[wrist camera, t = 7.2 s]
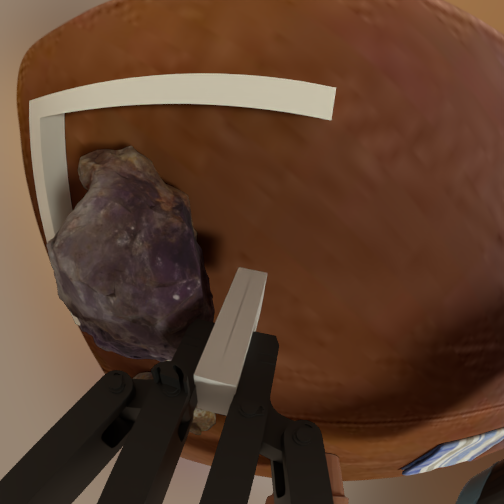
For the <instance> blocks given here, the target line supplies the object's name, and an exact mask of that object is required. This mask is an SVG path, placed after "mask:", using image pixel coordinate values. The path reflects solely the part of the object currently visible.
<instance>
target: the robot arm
mask: <svg viewBox="0 0 504 504" xmlns="http://www.w3.org/2000/svg"><path fill="white" fill-rule="evenodd" d="M266 278H267V273H265V272H260V271H255V270H250V269H245V268H240V267H239V268H238V270H237V273H236V275H235V278H234V280H233V282H232V285H231V287H230V289H229V292H228V294H227V296H226V299H225V301H224V304H223V306H222V308H221V311H220V313H219V315H218V318H217V320H216V323H212V322H209V321H205V320H201V319H196V320H195V321H194V322H193V323H192V324H190V325H189V327H188V328H187V330H186V332H185V334H184V336H183V338H182V340H181V343H180V344H179V346H178V348H177V350H176V352H175V354H174V356H173V358H172V360H171V361H163V362H160V363H158V364H156V365H155V366H154V367H153V368H152V369H151V373H152V376H153V379H147V380H146V379H131V377H130V376H129V375H128V374H127V373H125V372H123V371H118V370H114V371H110V372H108V373H107V374H105V375H104V376H103V377H102V378H101V379H100V380H99V381H98V382H97V383H96V384H95V385H94V386H93V387H92V388H91V389H90V390H89V391H88V392H87V393H86V394H85V395H84V396H83V397H82V398H81V399H80V400H79V401H78V402H77V403H76V404H75V405H74V406H73V407H72V408H71V409H70V410H69V411H68V412H67V413H66V414H65V415H64V416H63V417H62V418H61V419H60V420H59V421H58V422H57V423H56V424H55V425H54V426H53V427H52V428H51V429H50V430H49V431H48V432H47V433H46V434H45V435H44V436H43V437H42V438H41V439H40V440H39V441H38V442H37V443H36V444H35V445H34V446H33V447H32V448H31V449H30V450H29V451H28V452H27V453H26V454H25V456H23V458H22V459H21V460H20V461H19V462H18V463H17V464H16V465H15V466H14V467H13V468H12V469H11V470H10V471H9V472H8V473H7V474H6V475H5V476H4V477H3V479H2V480H1V481H0V504H71V503H72V502H73V501H74V500H75V499H76V498H77V497H78V496H79V495H80V494H81V493H82V492H83V490H84V489H85V488H86V487H87V486H88V485H89V484H90V483H91V482H92V480H93V479H94V478H95V477H96V476H97V475H98V474H99V473H100V472H101V470H102V469H103V468H104V467H105V466H106V465H107V464H108V462H109V461H110V460H111V459H112V458H113V457H114V456H115V455H116V453H117V452H118V451H119V450H120V449H121V448H122V446H123V445H124V446H123V448H122V450H121V452H120V454H119V456H118V459H117V461H116V463H115V465H114V467H113V469H112V471H111V474H110V476H109V478H108V480H107V482H106V485H105V487H104V489H103V491H102V494H101V496H100V498H99V500H98V503H97V504H162V503H163V500H164V497H165V495H166V492H167V489H168V487H169V484H170V481H171V478H172V476H173V473H174V470H175V468H176V465H177V463H178V460H179V457H180V455H181V452H182V449H183V447H184V444H185V441H186V438H187V436H188V433H189V430H190V428H191V425H192V422H193V418H194V410H195V408H196V405H197V408H199V409H203V410H206V411H210V412H214V413H218V414H221V415H225V416H227V417H226V420H225V423H224V427H223V430H222V433H221V437H220V440H219V443H218V446H217V450H216V453H215V456H214V459H213V462H212V466H211V469H210V472H209V475H208V478H207V482H206V485H205V488H204V491H203V494H202V497H201V500H200V503H199V504H247V503H248V499H249V495H250V491H251V486H252V483H253V479H254V475H255V470H256V466H257V462H258V457H259V454H261V455H263V456H265V457H267V458H269V459H271V471H272V482H273V494H274V504H334V502H333V496H332V489H331V483H330V478H329V472H328V466H327V460H326V455H325V449H324V444H323V438H322V434H321V431H320V429H319V427H318V426H317V425H316V424H315V423H313V422H310V421H308V420H297V421H293V420H291V419H289V418H286V417H284V416H282V415H281V414H279V413H278V412H277V411H276V410H275V409H274V408H273V406H272V404H271V401H270V393H271V388H272V383H273V377H274V372H275V366H276V361H277V355H278V349H279V344H278V341H277V338H276V336H274V335H269V334H264V333H259V332H255V331H256V327H257V323H258V320H259V316H260V312H261V306H262V301H263V295H264V290H265V284H266ZM456 504H504V459H503V460H501V461H498V462H496V463H495V464H493V466H491V467H489V468H488V469H486V470H484V471H482V472H481V473H479V474H477V475H476V476H474V477H472V478H471V479H470V480H469V481H468V482H467V483H466V485H465V486H464V487H463V489H462V491H461V493H460V495H459V497H458V499H457V502H456Z"/></svg>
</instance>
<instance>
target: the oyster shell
mask: <svg viewBox="0 0 504 504" xmlns="http://www.w3.org/2000/svg"><path fill="white" fill-rule="evenodd" d="M133 379H146V380H147V379H153V376H152V373H151V372H144V373H139V374H138V375H136V376H135V377H134V378H133ZM214 424H216V415H215V413H214V412H210V411H206V410H203V409H199V408H197V405H196V408H195V410H194V418H193V422H192V425H191V428H190V430H189V432H192V433H194V434H196V435H200V434H201V431H207V430H209V429H210V428H211V427H212V426H213V425H214Z"/></svg>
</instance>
